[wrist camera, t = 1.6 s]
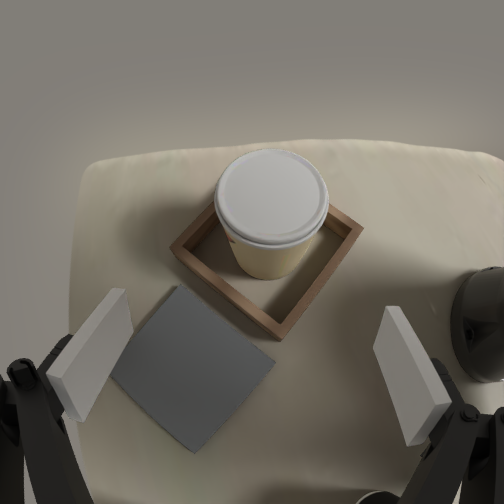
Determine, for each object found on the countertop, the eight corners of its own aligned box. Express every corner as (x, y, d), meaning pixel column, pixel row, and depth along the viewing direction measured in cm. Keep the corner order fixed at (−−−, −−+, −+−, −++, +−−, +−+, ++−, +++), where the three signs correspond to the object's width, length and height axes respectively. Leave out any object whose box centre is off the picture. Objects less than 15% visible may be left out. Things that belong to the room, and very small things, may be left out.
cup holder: (356, 239, 36) (364, 227, 33) (280, 342, 31) (282, 339, 29) (258, 172, 39) (257, 157, 36) (176, 257, 35) (169, 247, 32)
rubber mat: (275, 362, 31) (276, 362, 30) (196, 451, 27) (194, 454, 26) (182, 286, 34) (180, 284, 33) (109, 370, 30) (105, 370, 29)
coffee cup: (239, 204, 38) (231, 137, 26) (315, 221, 36) (336, 158, 25) (217, 276, 34) (197, 229, 23) (300, 296, 33) (321, 256, 22)
